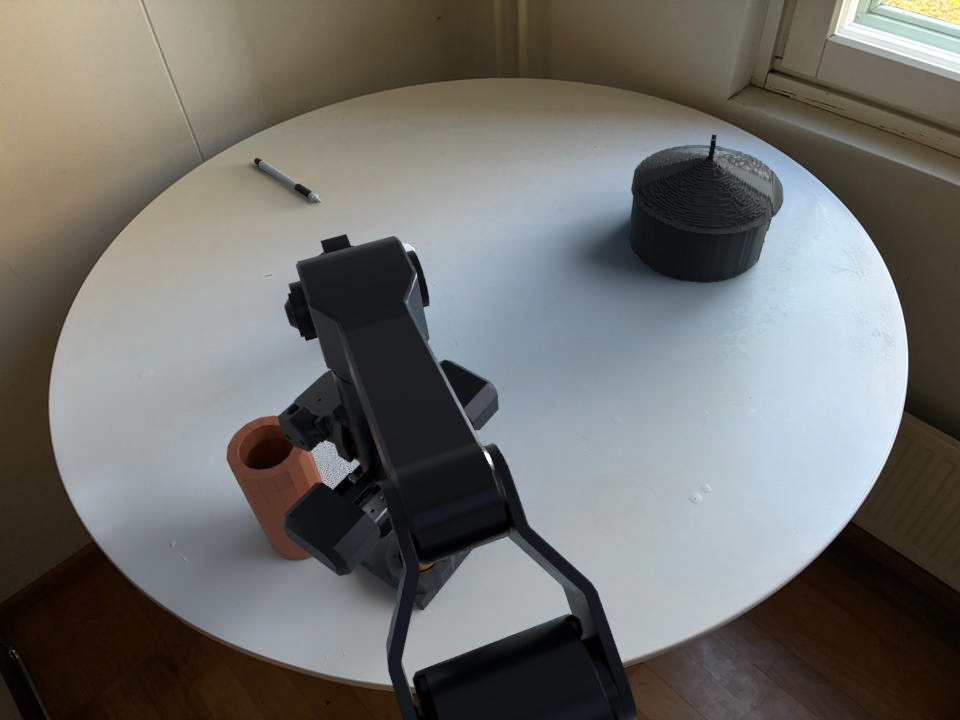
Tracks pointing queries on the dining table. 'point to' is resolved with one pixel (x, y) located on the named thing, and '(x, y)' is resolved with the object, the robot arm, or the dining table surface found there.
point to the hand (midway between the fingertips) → (410, 515)
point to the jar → (272, 478)
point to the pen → (287, 180)
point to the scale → (390, 564)
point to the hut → (702, 211)
